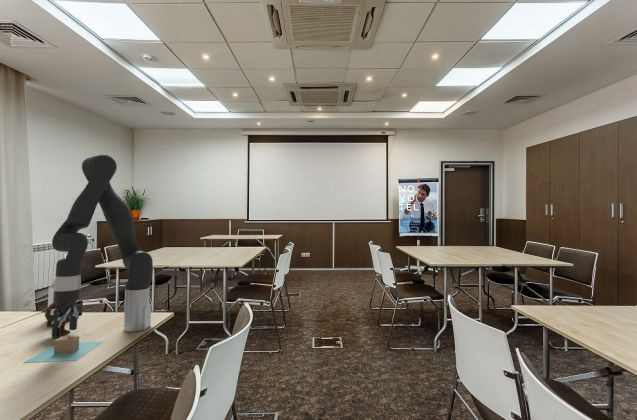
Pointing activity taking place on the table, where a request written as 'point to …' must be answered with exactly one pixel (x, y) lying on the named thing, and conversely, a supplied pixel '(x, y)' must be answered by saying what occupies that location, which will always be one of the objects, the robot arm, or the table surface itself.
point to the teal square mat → (64, 350)
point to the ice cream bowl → (63, 330)
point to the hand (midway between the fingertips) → (64, 333)
